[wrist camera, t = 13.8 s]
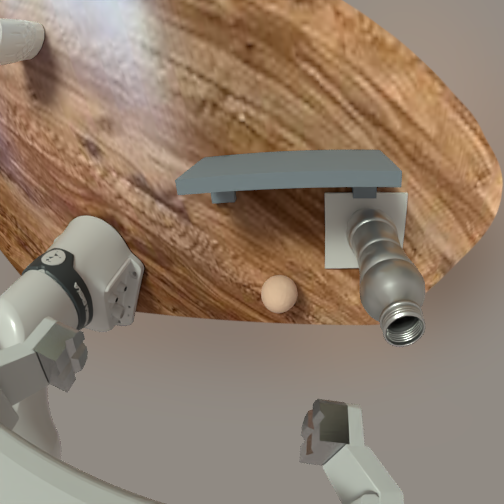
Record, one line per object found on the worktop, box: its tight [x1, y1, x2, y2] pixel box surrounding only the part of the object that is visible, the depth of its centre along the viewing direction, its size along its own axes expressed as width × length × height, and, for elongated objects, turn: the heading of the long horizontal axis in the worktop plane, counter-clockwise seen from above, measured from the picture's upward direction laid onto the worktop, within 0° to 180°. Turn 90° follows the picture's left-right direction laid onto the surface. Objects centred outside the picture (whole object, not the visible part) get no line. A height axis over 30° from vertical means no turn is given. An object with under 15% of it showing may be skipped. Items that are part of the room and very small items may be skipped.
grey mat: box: [325, 192, 408, 269], centre depth 41 cm, size 11×11×1 cm
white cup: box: [0, 18, 44, 66], centre depth 28 cm, size 8×8×10 cm
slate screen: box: [175, 150, 402, 203], centre depth 35 cm, size 6×22×10 cm, turn 96°
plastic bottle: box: [346, 207, 425, 347], centre depth 31 cm, size 6×7×20 cm
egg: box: [261, 275, 298, 313], centre depth 44 cm, size 5×5×6 cm
